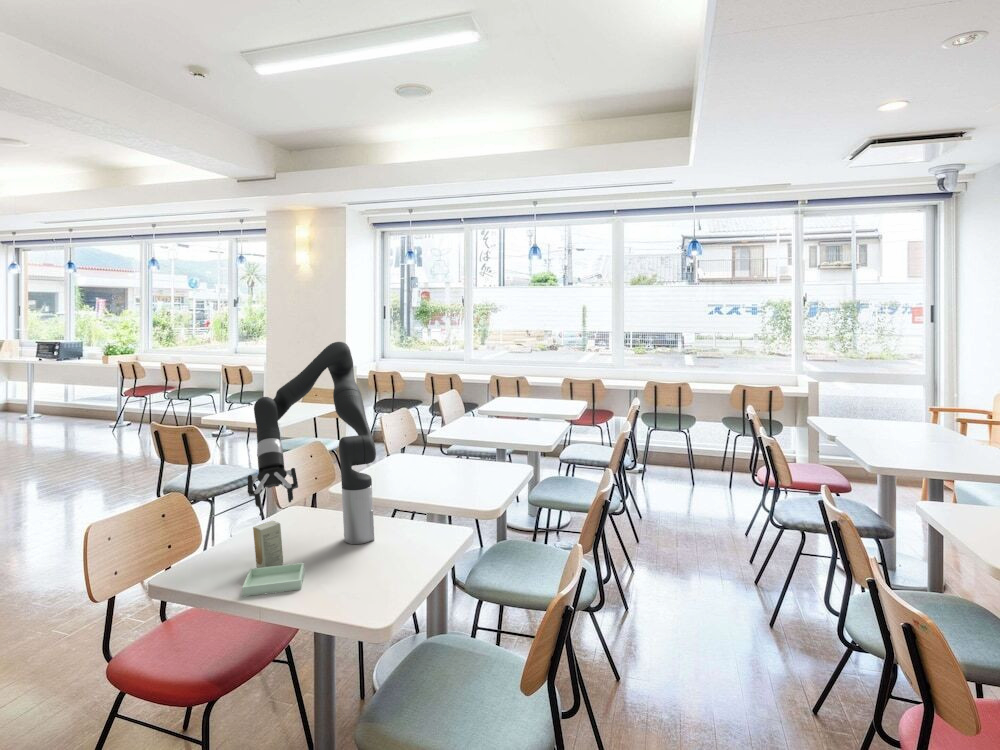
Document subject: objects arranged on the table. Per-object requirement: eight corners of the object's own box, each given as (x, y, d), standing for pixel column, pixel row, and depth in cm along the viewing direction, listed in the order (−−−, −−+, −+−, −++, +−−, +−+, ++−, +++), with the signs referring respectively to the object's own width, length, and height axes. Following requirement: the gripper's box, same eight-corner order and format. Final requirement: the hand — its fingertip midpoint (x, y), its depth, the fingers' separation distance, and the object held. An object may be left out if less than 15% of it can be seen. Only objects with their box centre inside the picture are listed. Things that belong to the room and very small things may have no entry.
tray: (304, 571, 158) (304, 562, 158) (301, 589, 148) (300, 580, 148) (250, 577, 155) (249, 568, 155) (242, 596, 144) (242, 587, 144)
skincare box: (276, 560, 166) (273, 519, 165) (284, 564, 163) (281, 522, 162) (254, 567, 161) (252, 526, 160) (262, 572, 158) (260, 529, 157)
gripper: (295, 457, 185) (300, 504, 177) (247, 465, 180) (251, 513, 172) (293, 447, 179) (298, 495, 171) (244, 454, 174) (247, 504, 166)
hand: (274, 504), depth 171 cm, fingers open, 8 cm apart
